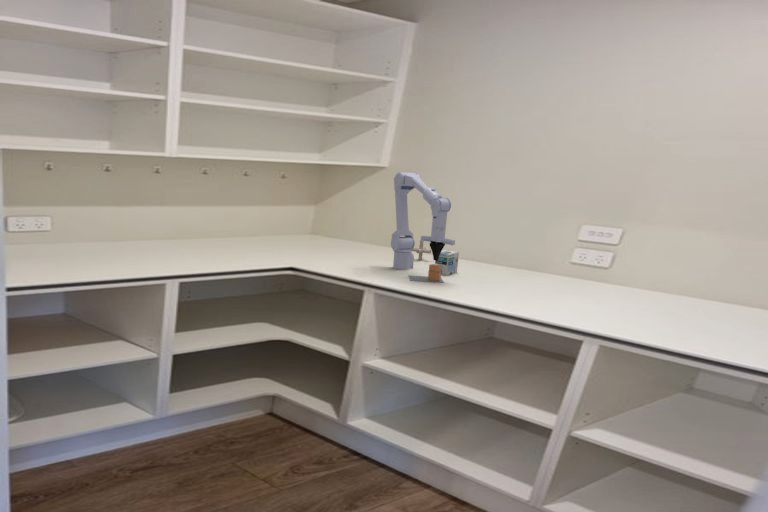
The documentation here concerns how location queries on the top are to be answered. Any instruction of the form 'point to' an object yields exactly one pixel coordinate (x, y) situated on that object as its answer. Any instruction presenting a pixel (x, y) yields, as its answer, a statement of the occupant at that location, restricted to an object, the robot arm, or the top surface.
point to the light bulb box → (448, 262)
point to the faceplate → (423, 279)
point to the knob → (434, 272)
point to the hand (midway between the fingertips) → (435, 260)
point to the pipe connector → (421, 250)
